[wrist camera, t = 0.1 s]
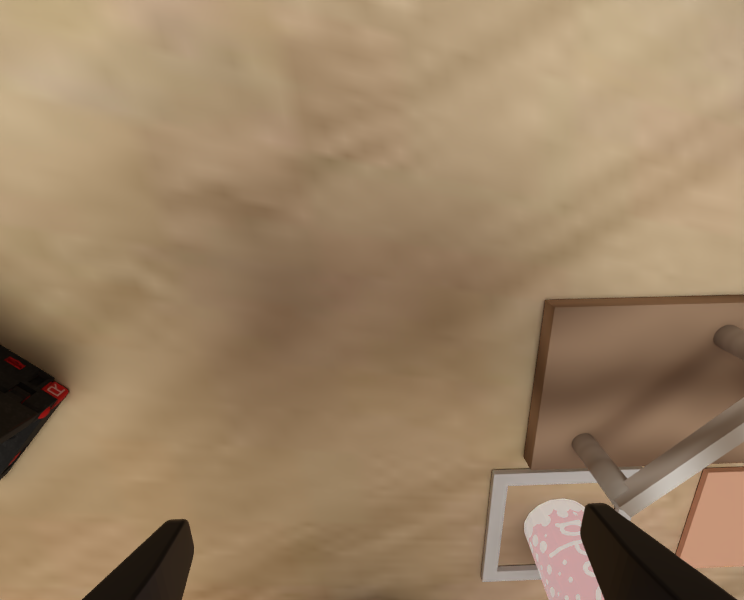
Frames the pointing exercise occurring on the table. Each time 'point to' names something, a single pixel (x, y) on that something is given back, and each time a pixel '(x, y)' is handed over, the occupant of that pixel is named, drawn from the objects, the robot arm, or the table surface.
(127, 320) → the table surface
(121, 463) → the table surface
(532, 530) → the beverage cup
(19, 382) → the dark piece
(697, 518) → the end mat
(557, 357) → the wire board
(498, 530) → the frame
